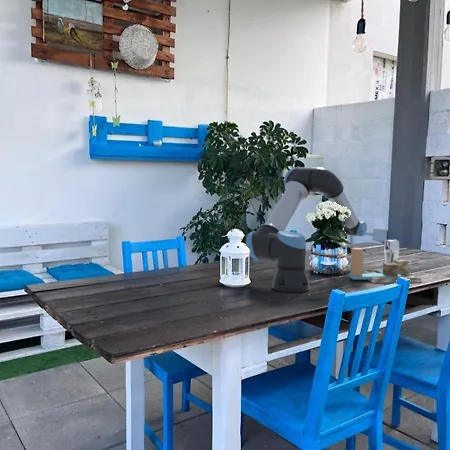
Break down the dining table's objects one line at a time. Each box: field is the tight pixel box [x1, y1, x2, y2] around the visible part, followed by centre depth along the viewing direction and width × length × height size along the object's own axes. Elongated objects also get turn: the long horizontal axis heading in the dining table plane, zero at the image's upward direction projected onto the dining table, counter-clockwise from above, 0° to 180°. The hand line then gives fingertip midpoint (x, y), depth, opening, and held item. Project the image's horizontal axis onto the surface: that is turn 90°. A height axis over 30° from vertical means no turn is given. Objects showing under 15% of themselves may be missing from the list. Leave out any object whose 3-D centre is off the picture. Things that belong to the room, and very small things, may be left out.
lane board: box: [362, 268, 422, 284], centre depth 216 cm, size 22×19×2 cm
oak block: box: [392, 258, 409, 272], centre depth 220 cm, size 5×5×5 cm
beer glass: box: [383, 239, 400, 263], centre depth 231 cm, size 7×7×15 cm
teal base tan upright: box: [348, 247, 402, 280], centre depth 210 cm, size 22×7×13 cm, turn 93°
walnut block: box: [382, 262, 398, 276], centre depth 211 cm, size 5×5×5 cm
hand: (349, 255), depth 219 cm, fingers open, 13 cm apart
